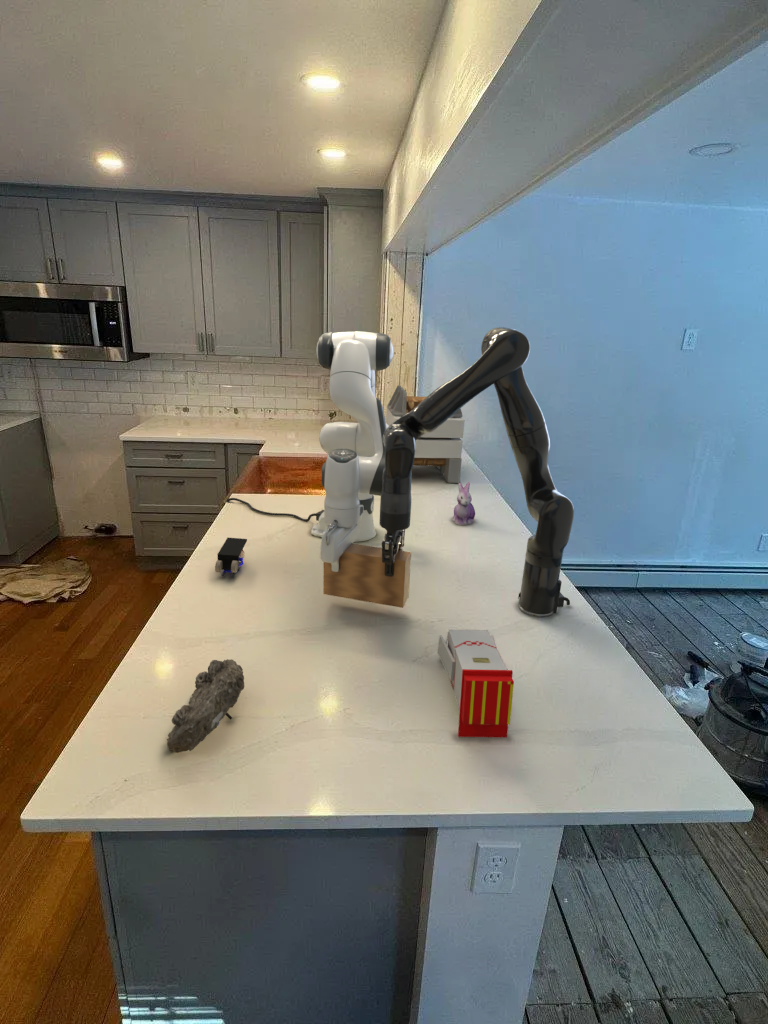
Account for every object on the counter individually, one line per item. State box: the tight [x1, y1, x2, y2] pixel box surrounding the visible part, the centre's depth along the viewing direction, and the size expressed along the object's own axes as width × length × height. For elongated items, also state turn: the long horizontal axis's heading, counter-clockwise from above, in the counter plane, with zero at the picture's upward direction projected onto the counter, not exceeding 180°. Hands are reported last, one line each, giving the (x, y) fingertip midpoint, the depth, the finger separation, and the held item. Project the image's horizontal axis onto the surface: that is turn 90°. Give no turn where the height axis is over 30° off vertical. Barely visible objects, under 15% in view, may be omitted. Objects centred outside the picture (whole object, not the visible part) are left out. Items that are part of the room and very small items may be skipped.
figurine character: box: [214, 537, 248, 578], centre depth 166 cm, size 7×8×15 cm
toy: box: [437, 628, 515, 738], centre depth 117 cm, size 12×13×30 cm
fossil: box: [166, 658, 245, 754], centre depth 106 cm, size 22×10×15 cm
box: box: [322, 542, 412, 609], centre depth 146 cm, size 21×6×13 cm, turn 74°
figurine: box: [452, 481, 476, 526], centre depth 212 cm, size 9×10×15 cm
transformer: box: [385, 384, 465, 484], centre depth 268 cm, size 34×33×41 cm
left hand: (340, 564), depth 147 cm, fingers closed on box, 6 cm apart
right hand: (392, 570), depth 143 cm, fingers closed on box, 6 cm apart
